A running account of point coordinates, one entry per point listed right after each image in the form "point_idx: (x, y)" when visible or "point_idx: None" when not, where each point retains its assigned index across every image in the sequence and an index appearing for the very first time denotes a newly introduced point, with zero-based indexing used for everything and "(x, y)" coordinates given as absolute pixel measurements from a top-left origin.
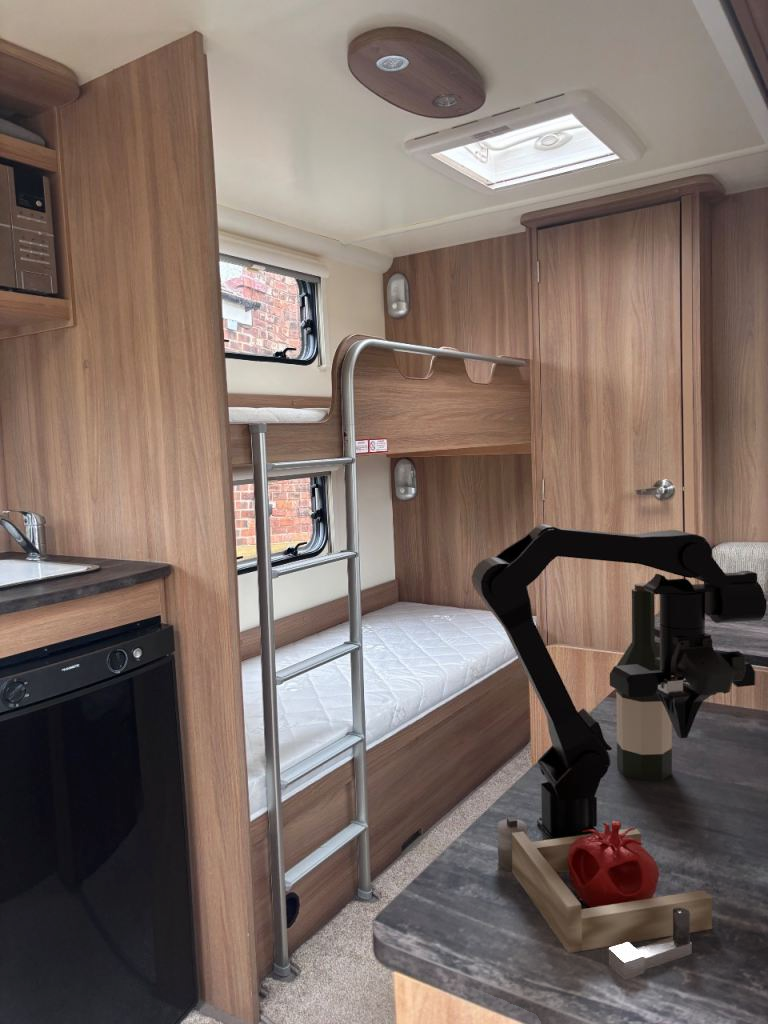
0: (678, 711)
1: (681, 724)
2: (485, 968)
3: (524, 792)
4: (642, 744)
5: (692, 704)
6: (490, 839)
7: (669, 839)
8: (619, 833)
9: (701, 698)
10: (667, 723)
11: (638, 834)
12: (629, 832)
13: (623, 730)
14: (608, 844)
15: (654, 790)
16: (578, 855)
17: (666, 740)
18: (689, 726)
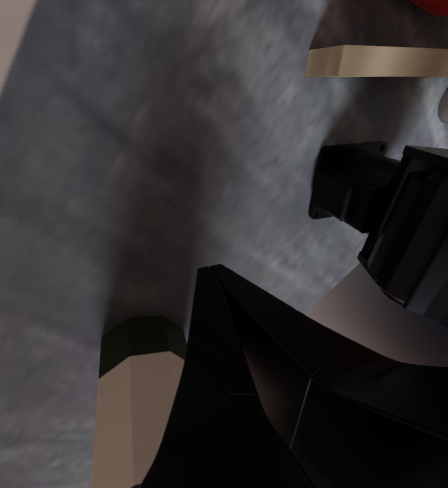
0: (322, 333)
1: (255, 291)
2: None
3: (326, 283)
4: (170, 368)
5: (251, 396)
6: None
7: (219, 116)
8: (376, 60)
9: (217, 468)
10: (110, 426)
11: (347, 45)
12: (359, 58)
13: None
14: None
15: (157, 287)
16: None
17: (115, 387)
18: (206, 293)
